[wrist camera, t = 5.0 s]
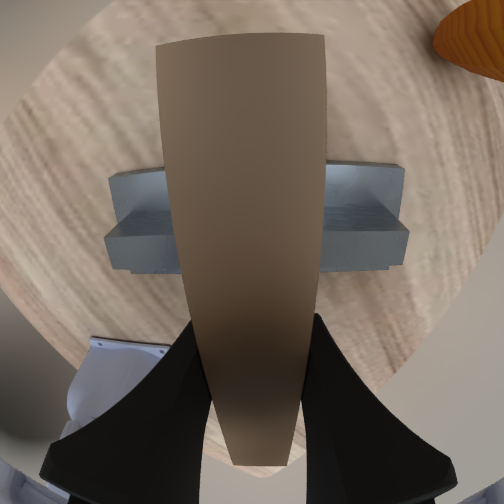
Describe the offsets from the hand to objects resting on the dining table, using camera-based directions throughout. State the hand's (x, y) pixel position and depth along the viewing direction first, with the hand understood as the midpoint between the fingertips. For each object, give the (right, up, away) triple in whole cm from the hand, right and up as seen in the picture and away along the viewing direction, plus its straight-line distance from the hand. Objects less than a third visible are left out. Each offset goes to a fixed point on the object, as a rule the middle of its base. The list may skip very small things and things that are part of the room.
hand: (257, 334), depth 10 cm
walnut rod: (0, +1, +2) cm, 2 cm away
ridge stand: (0, +5, +8) cm, 9 cm away
